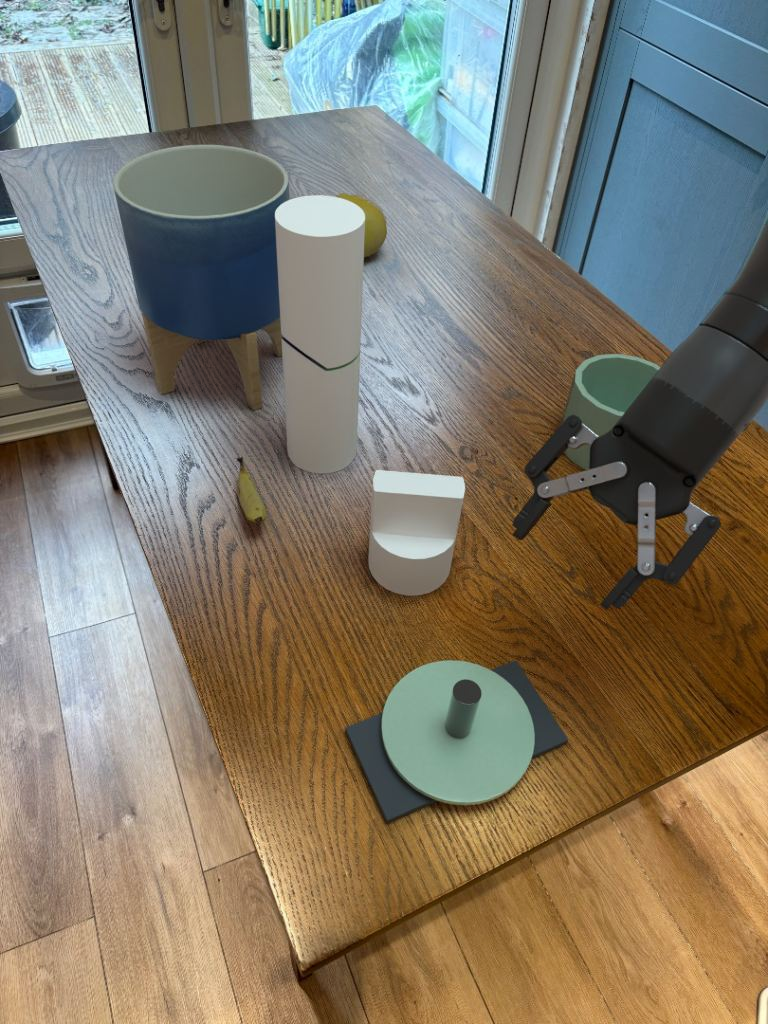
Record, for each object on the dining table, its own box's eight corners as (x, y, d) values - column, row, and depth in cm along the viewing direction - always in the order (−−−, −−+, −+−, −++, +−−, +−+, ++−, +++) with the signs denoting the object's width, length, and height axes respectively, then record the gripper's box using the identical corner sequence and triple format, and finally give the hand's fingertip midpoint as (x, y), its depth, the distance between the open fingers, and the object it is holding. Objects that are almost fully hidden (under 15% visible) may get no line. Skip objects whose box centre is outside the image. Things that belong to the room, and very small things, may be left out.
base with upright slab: (450, 535, 84) (464, 456, 76) (450, 599, 78) (465, 521, 70) (371, 528, 85) (376, 449, 76) (364, 592, 78) (369, 513, 70)
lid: (537, 683, 71) (554, 641, 66) (525, 825, 62) (543, 789, 57) (397, 653, 73) (402, 609, 67) (365, 787, 63) (368, 748, 58)
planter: (189, 433, 94) (152, 233, 75) (133, 355, 104) (88, 161, 85) (322, 386, 102) (319, 194, 83) (257, 318, 112) (242, 133, 93)
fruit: (380, 273, 123) (383, 214, 116) (316, 265, 124) (315, 205, 117) (390, 244, 130) (393, 186, 123) (329, 236, 131) (329, 179, 124)
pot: (654, 422, 100) (678, 363, 93) (657, 486, 92) (684, 426, 85) (560, 405, 102) (577, 346, 95) (555, 467, 93) (573, 407, 86)
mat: (514, 664, 73) (516, 659, 73) (566, 743, 68) (568, 739, 67) (345, 731, 68) (345, 727, 67) (386, 824, 62) (387, 820, 62)
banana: (271, 539, 83) (269, 515, 80) (250, 544, 82) (247, 519, 79) (252, 478, 89) (250, 453, 86) (232, 482, 88) (229, 457, 86)
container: (314, 483, 89) (309, 245, 67) (273, 444, 93) (257, 209, 71) (370, 454, 93) (383, 221, 71) (329, 418, 97) (329, 188, 75)
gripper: (614, 339, 54) (479, 515, 58) (789, 456, 50) (632, 638, 54) (621, 360, 61) (499, 516, 65) (774, 464, 57) (636, 625, 61)
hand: (560, 571), depth 59 cm, fingers open, 8 cm apart
